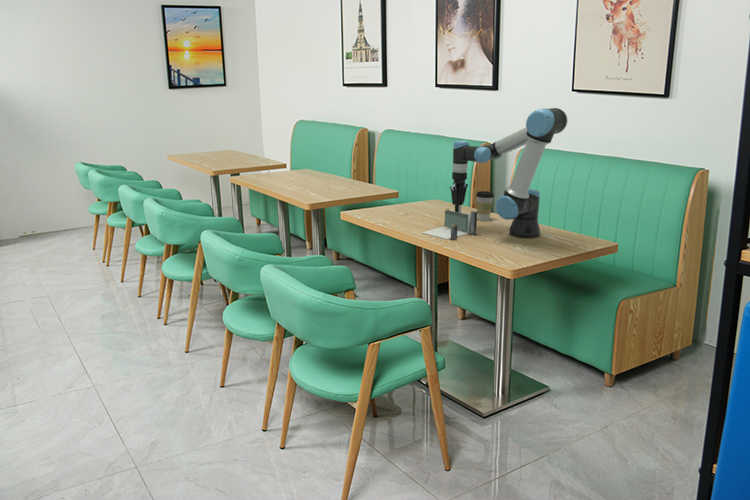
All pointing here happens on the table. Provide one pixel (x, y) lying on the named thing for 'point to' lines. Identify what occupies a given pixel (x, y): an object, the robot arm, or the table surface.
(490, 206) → the coffee cup
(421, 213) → the table surface
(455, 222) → the gate
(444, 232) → the mat
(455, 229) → the post
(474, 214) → the hinge post
